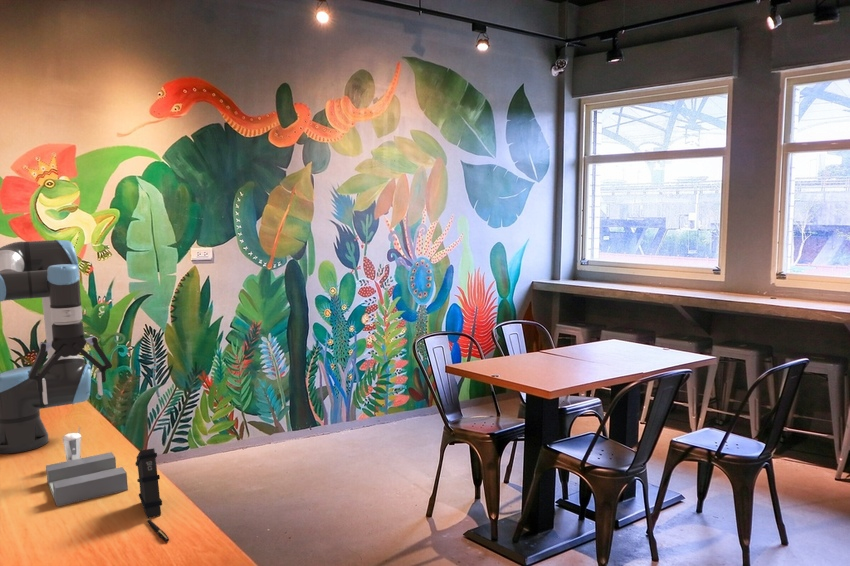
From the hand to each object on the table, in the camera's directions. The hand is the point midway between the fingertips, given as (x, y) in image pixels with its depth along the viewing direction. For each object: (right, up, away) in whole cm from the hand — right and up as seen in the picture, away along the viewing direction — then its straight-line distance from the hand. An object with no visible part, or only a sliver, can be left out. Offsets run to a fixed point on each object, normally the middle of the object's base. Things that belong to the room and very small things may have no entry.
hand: (73, 398), depth 191 cm
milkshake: (-2, -19, +5) cm, 20 cm away
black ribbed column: (+31, -22, -25) cm, 45 cm away
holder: (+9, -21, -11) cm, 25 cm away
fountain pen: (+37, -23, -38) cm, 58 cm away
